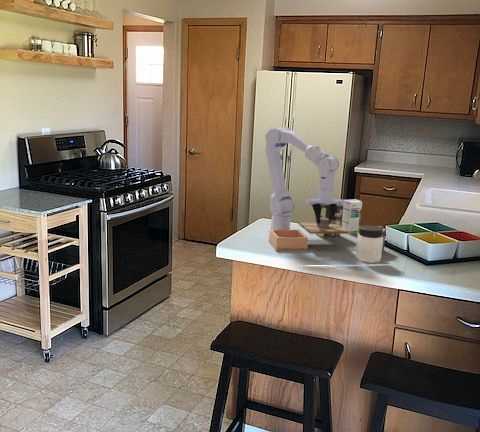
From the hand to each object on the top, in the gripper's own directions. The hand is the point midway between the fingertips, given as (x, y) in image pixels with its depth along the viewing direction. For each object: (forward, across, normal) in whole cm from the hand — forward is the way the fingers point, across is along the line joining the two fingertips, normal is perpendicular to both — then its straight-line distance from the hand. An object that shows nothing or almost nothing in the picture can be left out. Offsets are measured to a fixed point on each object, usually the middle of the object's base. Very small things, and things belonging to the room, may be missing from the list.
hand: (323, 223), depth 194 cm
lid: (+2, 0, 0) cm, 2 cm away
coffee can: (+10, +8, +15) cm, 19 cm away
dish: (+9, -13, +1) cm, 16 cm away
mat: (+9, +4, 0) cm, 10 cm away
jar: (+9, +12, -18) cm, 23 cm away
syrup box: (+10, +20, +20) cm, 29 cm away
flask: (+10, +19, -10) cm, 23 cm away
